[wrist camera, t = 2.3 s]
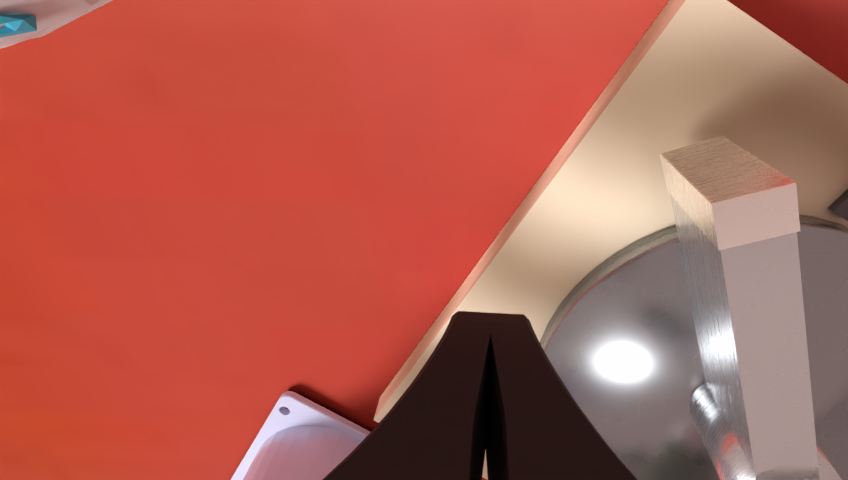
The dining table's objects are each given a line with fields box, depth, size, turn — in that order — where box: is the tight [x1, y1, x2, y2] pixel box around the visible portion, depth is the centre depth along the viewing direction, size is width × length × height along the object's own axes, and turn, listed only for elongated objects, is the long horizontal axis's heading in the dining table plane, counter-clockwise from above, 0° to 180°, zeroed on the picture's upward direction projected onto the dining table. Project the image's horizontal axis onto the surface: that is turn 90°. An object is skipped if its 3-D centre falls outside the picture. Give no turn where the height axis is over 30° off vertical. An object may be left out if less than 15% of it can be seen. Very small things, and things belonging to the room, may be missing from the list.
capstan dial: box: [540, 136, 848, 480], centre depth 17 cm, size 17×14×5 cm
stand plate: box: [374, 0, 848, 480], centre depth 20 cm, size 20×20×2 cm
